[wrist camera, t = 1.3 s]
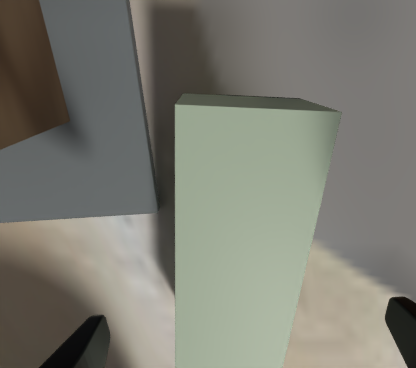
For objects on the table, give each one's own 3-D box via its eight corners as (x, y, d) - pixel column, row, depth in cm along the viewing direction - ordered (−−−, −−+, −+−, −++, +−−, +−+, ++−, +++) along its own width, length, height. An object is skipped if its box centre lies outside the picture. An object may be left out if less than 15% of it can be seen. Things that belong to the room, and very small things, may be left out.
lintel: (298, 98, 12) (342, 111, 8) (264, 304, 17) (281, 371, 13) (183, 92, 12) (174, 104, 8) (181, 302, 16) (175, 370, 13)
